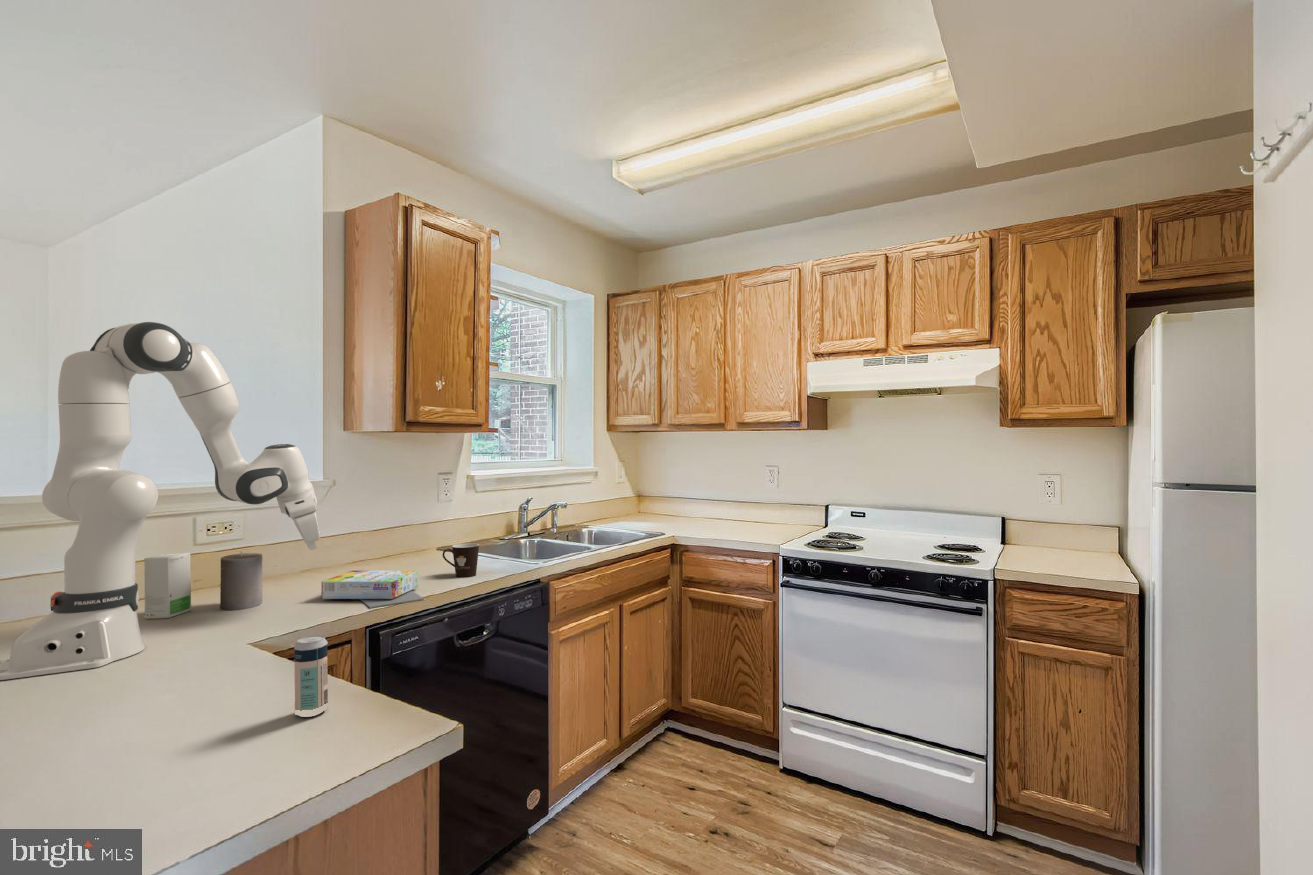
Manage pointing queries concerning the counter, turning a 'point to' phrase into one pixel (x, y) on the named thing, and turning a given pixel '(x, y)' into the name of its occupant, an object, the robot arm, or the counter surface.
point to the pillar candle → (241, 581)
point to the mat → (393, 600)
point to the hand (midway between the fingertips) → (312, 548)
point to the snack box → (369, 584)
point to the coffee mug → (464, 559)
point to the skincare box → (167, 585)
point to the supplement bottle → (311, 673)
